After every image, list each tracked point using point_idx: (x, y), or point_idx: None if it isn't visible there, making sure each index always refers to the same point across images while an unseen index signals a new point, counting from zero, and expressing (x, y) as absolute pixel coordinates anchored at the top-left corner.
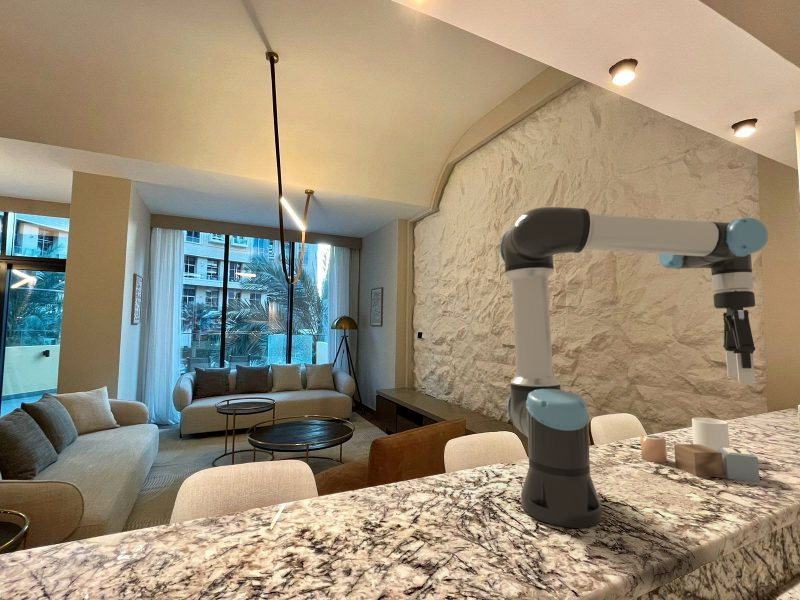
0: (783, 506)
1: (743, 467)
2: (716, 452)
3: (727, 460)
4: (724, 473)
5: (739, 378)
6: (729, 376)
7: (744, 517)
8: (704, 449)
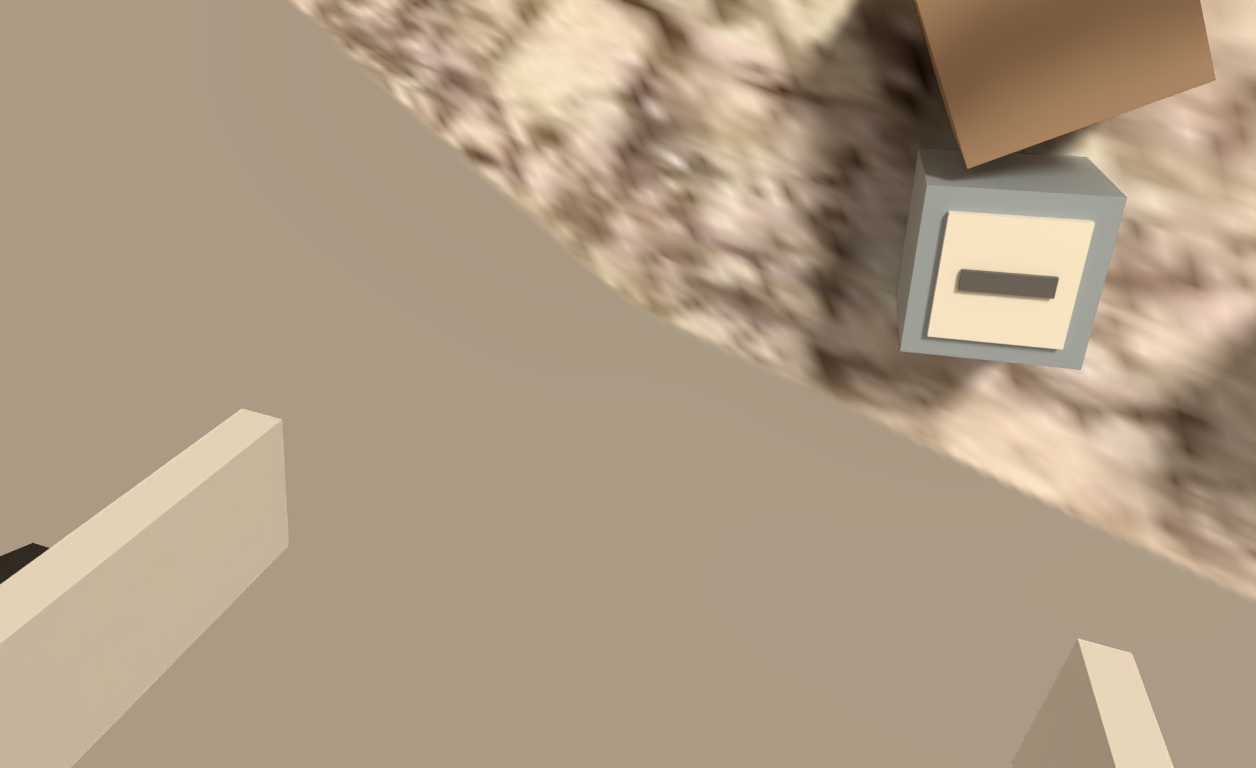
0: (566, 241)
1: (909, 250)
2: (957, 129)
3: (924, 177)
4: None
5: (205, 441)
6: (1073, 655)
7: (346, 11)
8: (1028, 64)
